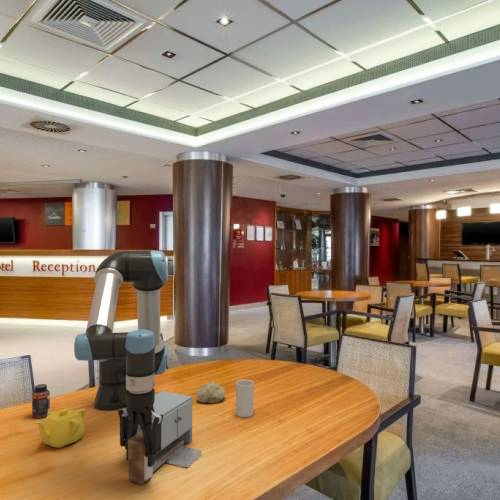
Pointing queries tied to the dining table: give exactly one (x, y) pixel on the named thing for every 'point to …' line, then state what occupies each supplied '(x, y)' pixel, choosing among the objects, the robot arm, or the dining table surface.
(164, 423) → the low cabinet
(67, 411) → the teapot
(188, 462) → the plate
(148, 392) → the robot arm
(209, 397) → the decorative item
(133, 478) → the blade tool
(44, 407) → the supplement bottle
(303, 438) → the dining table surface
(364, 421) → the dining table surface
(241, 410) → the mug
